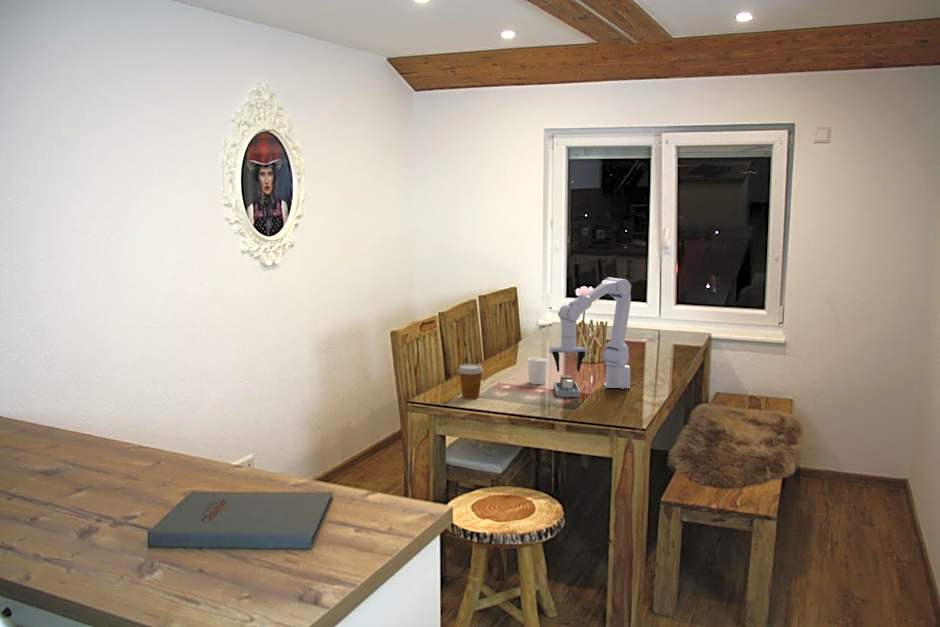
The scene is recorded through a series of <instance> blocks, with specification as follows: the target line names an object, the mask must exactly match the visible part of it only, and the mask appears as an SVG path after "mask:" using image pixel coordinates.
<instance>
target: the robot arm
mask: <svg viewBox="0 0 940 627" xmlns="http://www.w3.org/2000/svg"><path fill="white" fill-rule="evenodd" d="M631 290H632V284H631V283H630V282H629V280H627V278H626V279H625V278H617V277H611V276H608V277H606V278H605V279H603V280H602V281H601V283H600V284H599V285H597V286H596V287H595V288H593V290H591V291H590V292H589V293H588V294H578V296H577V298H575V299H574V300H573V301H570V302H569V303H568V304H564V305H562V306H561V307H560V308H559V311H558V312H557V315H558V317H559V319H560V325H561V327H560V328H561V330H560V331H561V332H560V337H561V338H560V346H549V348H548V350H549V351H548V352H549V354H552V356H553V359H554V361H555V366H556V371H557V372H560V353H562V354H563V353H564V354H565V353H569V354H570V353H573V354H576V355H577V356H576V358H577V359H576V362H577V363H576V372H580V368H581V365H582V363H583V360H584V358H585V357H586V354H588V351H589V350H588V348H589V347H588V346H577V321H578V320H579V318H580V317H581V315H582V314H583V313H584V312H585V311H587V310H589V309H591V307H592V305H593V303H594V302H595V301H597V300H598V299H600V298H601V297H603V296H605V295H610V296H611V297H612V298H613V299H614V301H615V302H616V304H615V311H614V316H613V324H612V329H611V330H612V331H611V337H610V340H609V341H607V343H606V344H605V348H604V349H603V352H602V359H603V361H604V362H605V365H606V369H605V370H606V371H605V373H606V374H605V382H603V385H604V387H605V388H606V389H607V388H621V389H622V390H623V389H624V388H625V389H626V388H627V389H628V388H630V389H631V367H630V365H628V362H629V360H630V354H629V349H630V348H629V346H628V345H627V344H626V342H625V341H626V334H627V328H628V323H629V322H628V320H629V314H630V308H631V301H632V295H631ZM627 389H626V390H627ZM628 390H629V389H628Z"/></svg>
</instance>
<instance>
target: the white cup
mask: <svg viewBox="0 0 940 627" xmlns="http://www.w3.org/2000/svg"><path fill="white" fill-rule="evenodd" d="M547 369H548V359H547V358H546V357H541V356H533V357H529V358H527V371H528V373H527V374H528V383H529V384H530V383H532V384H531V385H536V384H540V385H544V383H545V384H546V379H547V378H546V376H547Z"/></svg>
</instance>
